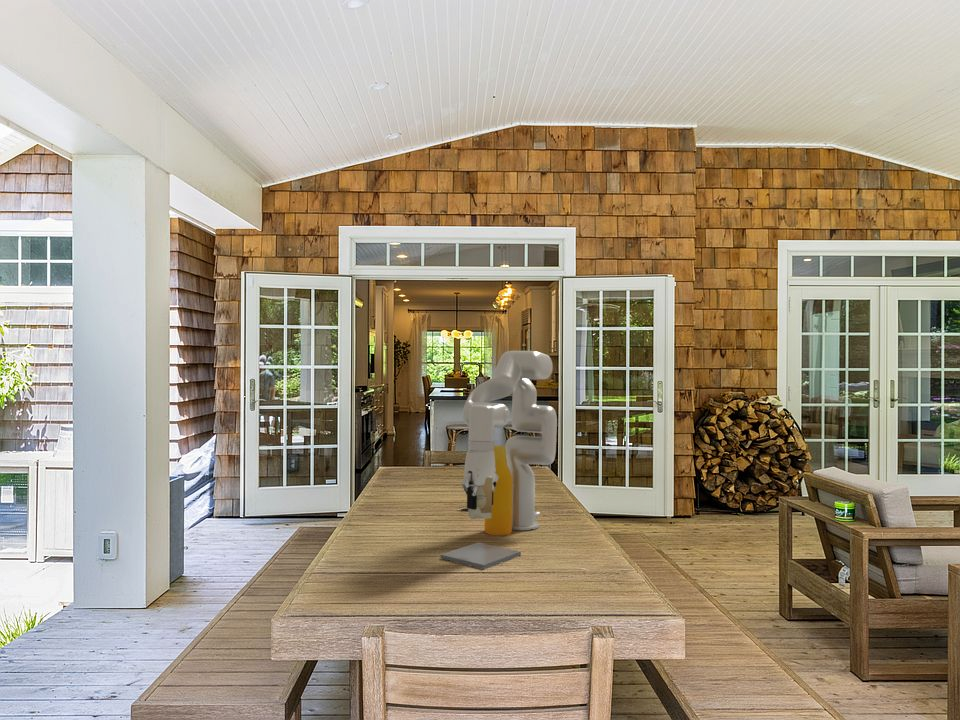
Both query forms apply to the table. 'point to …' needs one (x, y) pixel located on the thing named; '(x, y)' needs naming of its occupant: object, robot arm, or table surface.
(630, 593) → the table surface
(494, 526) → the beer bottle
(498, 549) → the slate board
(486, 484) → the skincare box
